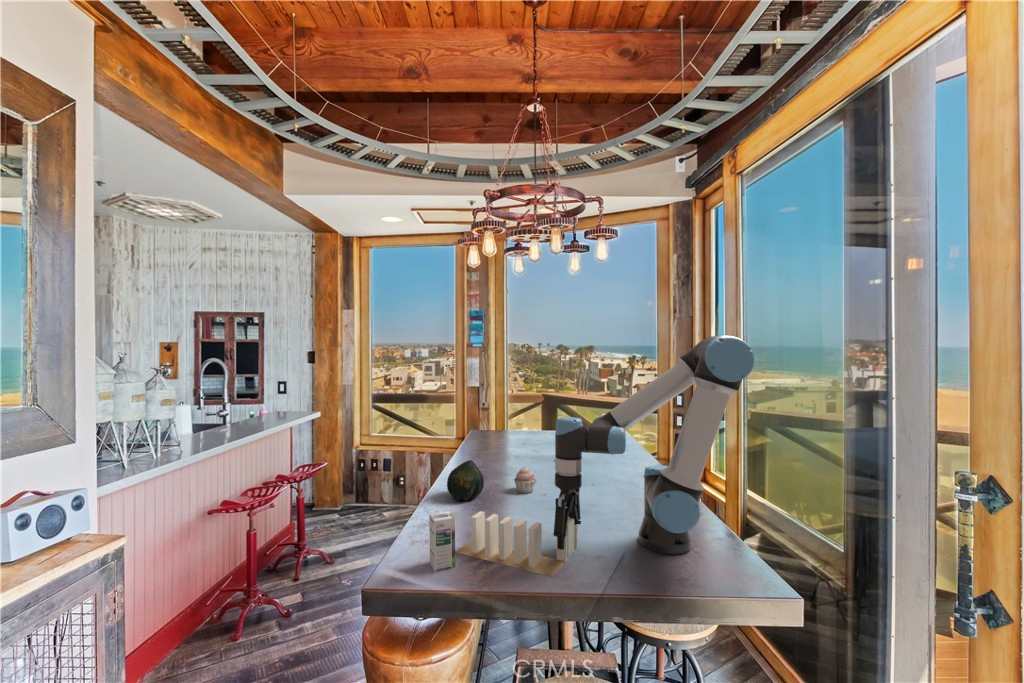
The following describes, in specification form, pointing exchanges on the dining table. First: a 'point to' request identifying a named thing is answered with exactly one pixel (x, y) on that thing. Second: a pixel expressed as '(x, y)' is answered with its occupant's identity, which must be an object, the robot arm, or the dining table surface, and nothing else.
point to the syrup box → (442, 540)
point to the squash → (465, 481)
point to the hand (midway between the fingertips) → (567, 553)
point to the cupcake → (525, 481)
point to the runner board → (543, 567)
